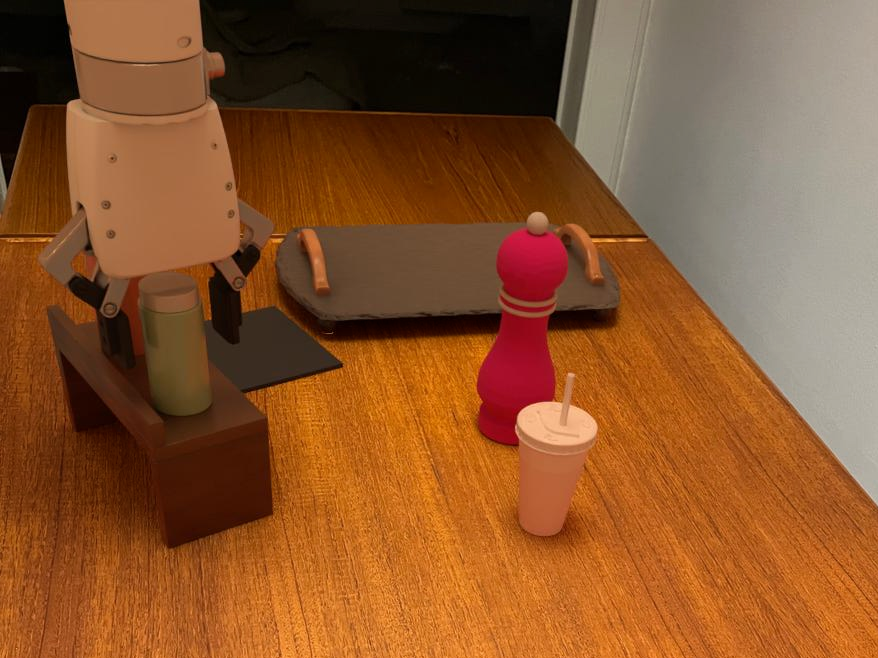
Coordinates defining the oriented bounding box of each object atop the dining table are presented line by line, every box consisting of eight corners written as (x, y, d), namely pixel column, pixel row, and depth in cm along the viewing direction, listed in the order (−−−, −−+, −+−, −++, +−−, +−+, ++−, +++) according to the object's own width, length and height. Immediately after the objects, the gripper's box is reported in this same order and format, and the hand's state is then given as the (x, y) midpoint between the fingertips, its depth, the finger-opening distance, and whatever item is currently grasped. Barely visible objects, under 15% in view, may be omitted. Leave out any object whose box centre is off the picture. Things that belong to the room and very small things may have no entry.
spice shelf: (273, 513, 82) (266, 393, 74) (168, 548, 77) (150, 424, 70) (168, 400, 93) (152, 285, 85) (71, 425, 88) (45, 306, 81)
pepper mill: (561, 424, 96) (598, 212, 82) (526, 457, 91) (558, 238, 78) (496, 399, 98) (521, 188, 85) (458, 430, 94) (477, 212, 80)
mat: (213, 401, 93) (212, 397, 93) (149, 336, 101) (149, 333, 101) (343, 366, 100) (343, 363, 100) (274, 308, 108) (274, 305, 107)
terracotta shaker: (113, 362, 79) (93, 246, 73) (91, 338, 82) (70, 224, 75) (166, 349, 81) (151, 236, 75) (143, 327, 84) (127, 215, 78)
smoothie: (538, 555, 81) (564, 402, 71) (487, 515, 84) (505, 363, 75) (594, 529, 84) (626, 379, 75) (543, 491, 88) (567, 343, 78)
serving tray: (293, 345, 102) (291, 286, 98) (263, 250, 118) (260, 196, 114) (641, 328, 112) (652, 274, 108) (571, 242, 128) (578, 192, 124)
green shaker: (167, 422, 74) (151, 303, 68) (142, 394, 76) (124, 277, 70) (222, 407, 76) (211, 290, 70) (196, 381, 78) (183, 266, 72)
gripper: (243, 52, 67) (259, 303, 79) (-27, 75, 59) (36, 352, 71) (299, 85, 63) (307, 344, 75) (18, 114, 55) (77, 401, 67)
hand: (175, 346), depth 73 cm, fingers open, 7 cm apart
